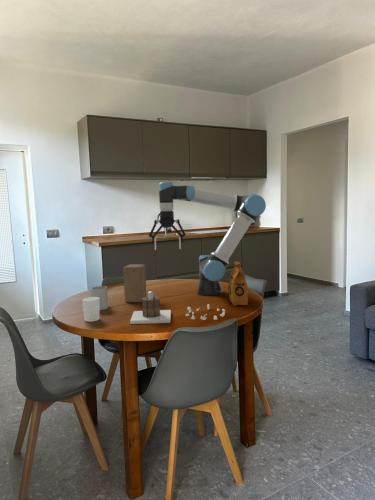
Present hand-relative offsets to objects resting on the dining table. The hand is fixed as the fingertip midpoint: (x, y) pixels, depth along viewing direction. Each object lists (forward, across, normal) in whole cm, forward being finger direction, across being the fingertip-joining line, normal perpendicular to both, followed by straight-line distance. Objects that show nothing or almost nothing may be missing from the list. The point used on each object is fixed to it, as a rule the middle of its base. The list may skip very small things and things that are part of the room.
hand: (167, 249), depth 206 cm
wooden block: (+29, -19, +2) cm, 35 cm away
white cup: (+29, -36, -33) cm, 57 cm away
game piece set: (+29, +18, -31) cm, 46 cm away
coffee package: (+29, +37, -12) cm, 48 cm away
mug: (+29, -36, -11) cm, 47 cm away
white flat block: (+29, -8, -34) cm, 45 cm away
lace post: (+27, -8, -34) cm, 44 cm away
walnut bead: (+27, -8, -34) cm, 44 cm away
